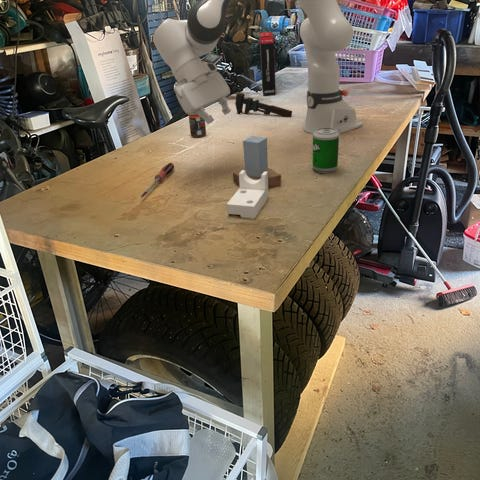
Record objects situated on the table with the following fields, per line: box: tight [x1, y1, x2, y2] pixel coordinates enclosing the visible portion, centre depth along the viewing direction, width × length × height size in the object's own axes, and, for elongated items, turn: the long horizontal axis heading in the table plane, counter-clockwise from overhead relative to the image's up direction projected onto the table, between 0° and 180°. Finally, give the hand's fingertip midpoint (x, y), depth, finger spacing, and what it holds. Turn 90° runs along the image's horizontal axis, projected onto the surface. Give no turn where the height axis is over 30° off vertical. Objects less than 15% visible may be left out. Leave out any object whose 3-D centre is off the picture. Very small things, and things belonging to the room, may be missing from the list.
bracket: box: [226, 169, 269, 219], centre depth 122 cm, size 13×7×8 cm, turn 162°
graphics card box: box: [258, 31, 277, 97], centre depth 233 cm, size 17×7×27 cm, turn 179°
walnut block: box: [232, 167, 282, 189], centre depth 136 cm, size 10×10×3 cm
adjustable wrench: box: [234, 92, 293, 118], centre depth 201 cm, size 8×3×25 cm
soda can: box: [311, 128, 340, 174], centre depth 140 cm, size 8×8×12 cm
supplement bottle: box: [188, 112, 207, 138], centre depth 179 cm, size 6×6×11 cm
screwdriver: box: [140, 162, 175, 198], centre depth 140 cm, size 25×3×3 cm, turn 167°
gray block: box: [242, 135, 269, 178], centre depth 133 cm, size 5×5×10 cm
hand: (219, 117), depth 138 cm, fingers open, 8 cm apart
